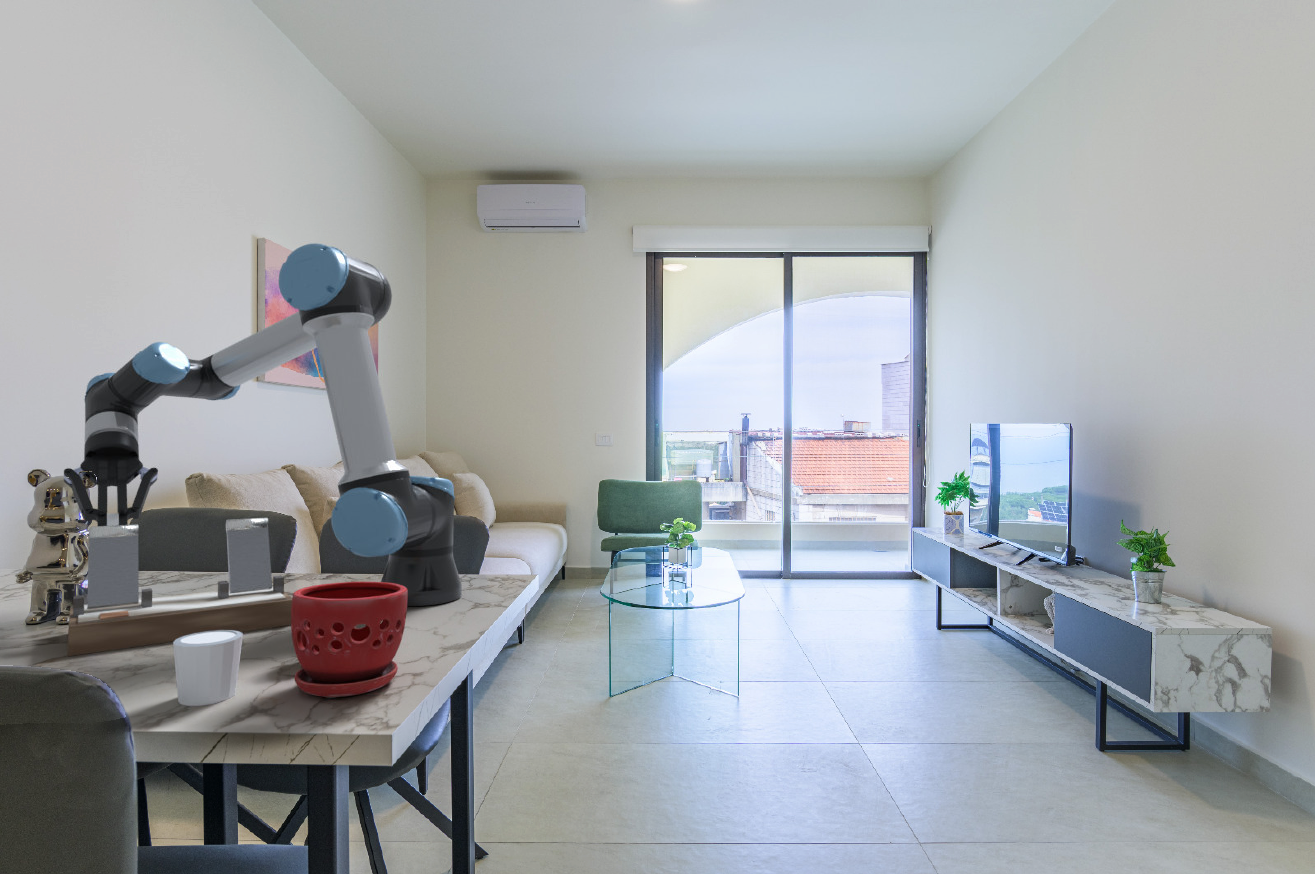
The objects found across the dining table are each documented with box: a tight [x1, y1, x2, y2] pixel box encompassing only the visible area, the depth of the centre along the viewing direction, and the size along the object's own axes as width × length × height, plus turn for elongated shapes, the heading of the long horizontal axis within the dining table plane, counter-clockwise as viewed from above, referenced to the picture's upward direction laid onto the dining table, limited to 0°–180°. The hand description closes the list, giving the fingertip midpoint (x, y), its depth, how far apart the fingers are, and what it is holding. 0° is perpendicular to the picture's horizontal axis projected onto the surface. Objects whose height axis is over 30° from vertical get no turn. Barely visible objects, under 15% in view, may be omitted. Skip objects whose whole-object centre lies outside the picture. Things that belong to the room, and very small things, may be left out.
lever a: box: [225, 517, 273, 594], centre depth 117 cm, size 2×6×12 cm, turn 130°
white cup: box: [172, 630, 244, 707], centre depth 81 cm, size 7×7×7 cm
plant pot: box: [290, 581, 408, 699], centre depth 86 cm, size 13×13×12 cm
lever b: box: [86, 523, 140, 609], centre depth 106 cm, size 2×6×12 cm, turn 130°
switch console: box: [67, 575, 293, 657], centre depth 109 cm, size 14×28×7 cm, turn 130°
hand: (112, 550), depth 110 cm, fingers closed
